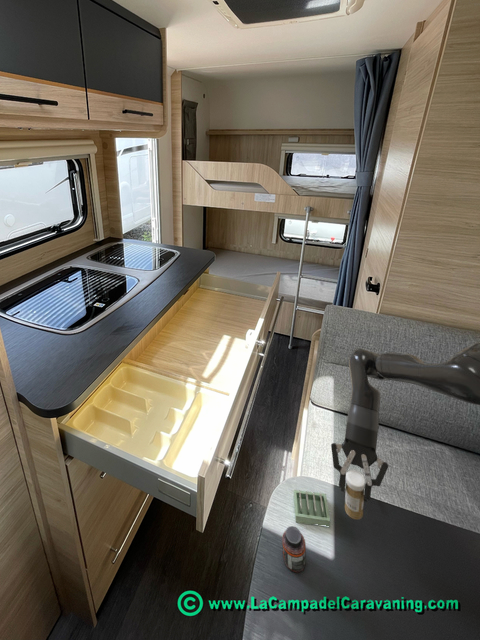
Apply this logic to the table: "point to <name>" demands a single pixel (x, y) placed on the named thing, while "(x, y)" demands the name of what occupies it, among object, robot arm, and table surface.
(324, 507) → the drainer
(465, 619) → the table surface
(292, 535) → the supplement bottle
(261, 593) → the table surface
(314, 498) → the drainer rack
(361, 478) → the sprinkles bottle
